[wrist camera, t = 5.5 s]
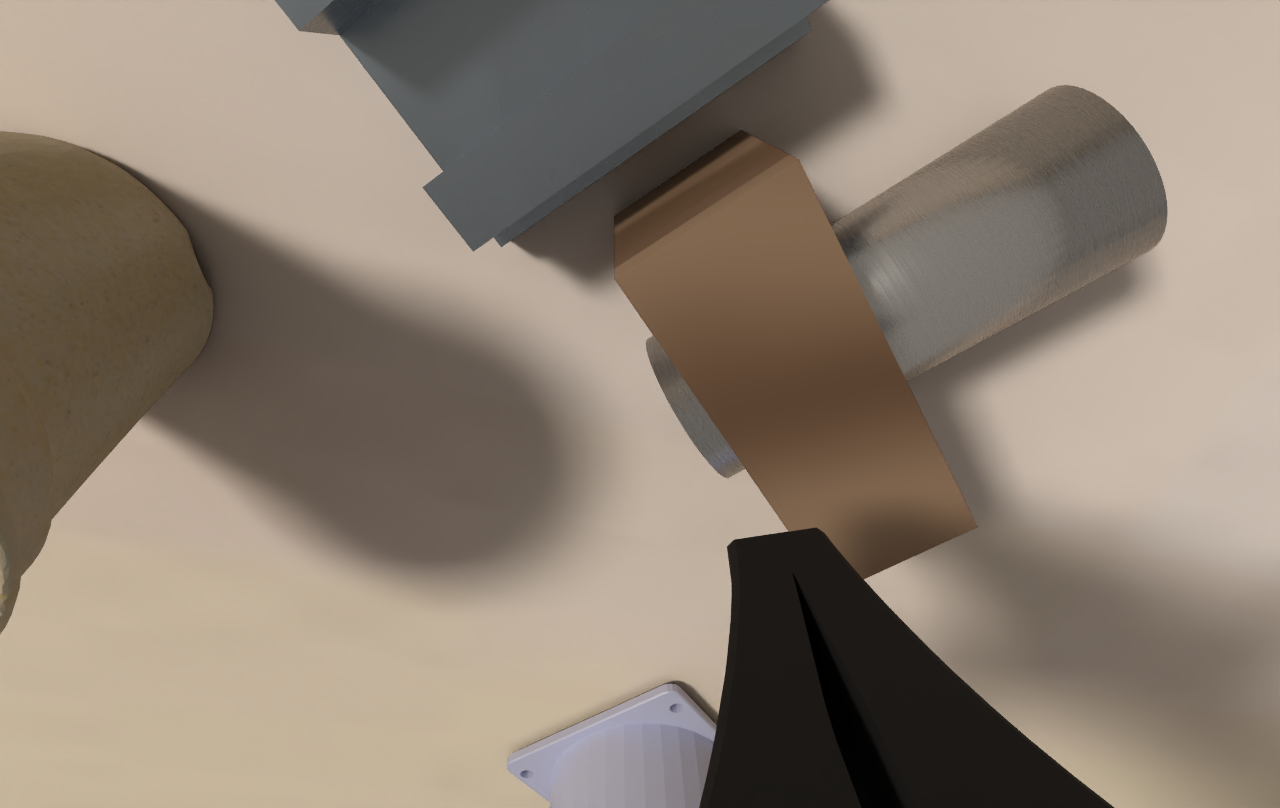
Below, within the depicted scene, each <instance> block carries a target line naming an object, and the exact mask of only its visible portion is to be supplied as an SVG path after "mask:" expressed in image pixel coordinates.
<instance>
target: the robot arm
mask: <svg viewBox="0 0 1280 808" xmlns="http://www.w3.org/2000/svg"><path fill="white" fill-rule="evenodd" d="M727 550H728V558H729V566H730V574H731V582H732V602H731V623H730V634H729V644H728V654H727V664H726V672H725V679H724V685H723V691H722V697H721V703H720V709H719V715H718V721H717V725H716V724H715V723H714V722H713V721H712V720H711V719H710V718H709V717H708V716H707V715H706V714H705V713H704V711H703V710H702V709H701V708H700V707H699V706H698V705H697V704H696V703H695V702H694V701H693V700H692V699H691V698H690V697H689V696H688V695H687V694H686V693H685V692H684V691H683V690H682V689H681V688H680V687H679V686H677V685H675V684H664V685H662V686H659V687H657V688H655V689H653V690H651V691H648V692H646V693H644V694H642V695H639V696H637V697H635V698H633V699H631V700H628V701H626V702H624V703H622V704H620V705H617V706H615V707H613V708H611V709H609V710H606V711H604V712H602V713H600V714H598V715H595V716H593V717H591V718H589V719H587V720H584V721H582V722H580V723H578V724H576V725H573V726H571V727H569V728H567V729H565V730H562V731H560V732H558V733H556V734H554V735H551V736H549V737H547V738H545V739H543V740H540V741H538V742H536V743H534V744H532V745H529V746H527V747H525V748H523V749H521V750H518V751H516V752H514V753H512V754H511V755H509V757H508V759H507V769H508V771H509V772H510V773H512V774H513V775H514V776H516V777H517V778H518V779H520V780H521V781H522V782H524V783H525V784H526V785H528V786H529V787H530V788H531V789H533V790H534V791H535V792H537V793H538V794H539V795H541V796H542V797H543V798H545V799H546V800H547V801H549V802H550V808H1114V807H1113V806H1112V805H1110V804H1109V803H1108V802H1106V801H1105V800H1104V799H1103V798H1101V797H1100V796H1099V795H1097V794H1096V793H1095V792H1094V791H1092V790H1091V789H1090V788H1088V787H1087V786H1086V785H1085V784H1083V783H1082V782H1081V781H1080V780H1078V779H1077V778H1076V777H1074V776H1073V775H1072V774H1071V773H1070V772H1068V771H1067V770H1066V769H1065V768H1063V767H1062V766H1061V765H1060V764H1059V763H1057V762H1056V761H1055V760H1054V759H1053V758H1051V757H1050V756H1049V755H1048V754H1046V753H1045V752H1044V751H1043V750H1042V749H1040V748H1039V747H1038V746H1037V745H1035V744H1034V743H1033V742H1032V741H1031V740H1029V739H1028V738H1027V737H1026V736H1025V735H1024V734H1022V733H1021V732H1020V731H1019V730H1018V729H1017V728H1015V727H1014V726H1013V725H1012V724H1011V723H1010V722H1009V721H1007V720H1006V719H1005V718H1004V717H1003V716H1002V715H1001V714H999V713H998V712H997V711H996V710H995V709H994V708H993V707H992V706H990V705H989V704H988V703H987V702H986V701H985V700H984V699H983V698H982V697H981V696H979V695H978V694H977V693H976V692H975V691H974V690H973V689H972V688H971V687H970V686H969V685H967V684H966V683H965V682H964V681H963V680H962V679H961V678H960V677H959V676H958V675H957V674H955V673H954V672H953V671H952V670H951V669H950V668H949V667H948V666H947V665H946V664H945V663H944V662H943V661H942V660H941V659H940V658H939V657H938V656H937V655H936V654H935V653H934V652H933V651H931V650H930V649H929V648H928V646H927V645H926V644H925V643H924V642H923V641H922V640H921V639H920V638H919V637H918V636H917V635H916V634H915V633H914V632H913V631H912V630H911V629H910V628H909V627H908V626H907V625H906V624H905V623H904V622H903V621H902V620H901V619H900V618H899V617H898V616H897V615H896V614H895V613H894V612H893V611H892V610H891V609H890V608H889V607H888V606H887V605H886V604H885V602H884V601H883V600H882V599H881V598H880V597H879V596H878V595H877V594H876V593H875V592H874V591H873V589H872V588H871V587H870V586H869V585H868V584H867V583H866V582H865V581H864V579H863V578H862V577H861V576H860V575H859V574H858V573H857V572H856V570H855V569H854V568H853V567H852V566H851V565H850V564H849V562H848V561H847V560H846V559H845V558H844V556H843V555H842V554H841V553H840V552H839V550H838V549H837V548H836V547H835V545H834V544H833V543H832V542H831V541H830V539H829V538H828V537H827V535H826V534H825V533H824V532H823V531H821V530H820V529H818V528H817V527H816V528H809V529H803V530H796V531H789V532H783V533H776V534H769V535H763V536H756V537H749V538H743V539H736V540H733V541H732V542H731V543H730V544H729V545H728V546H727Z"/></svg>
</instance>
